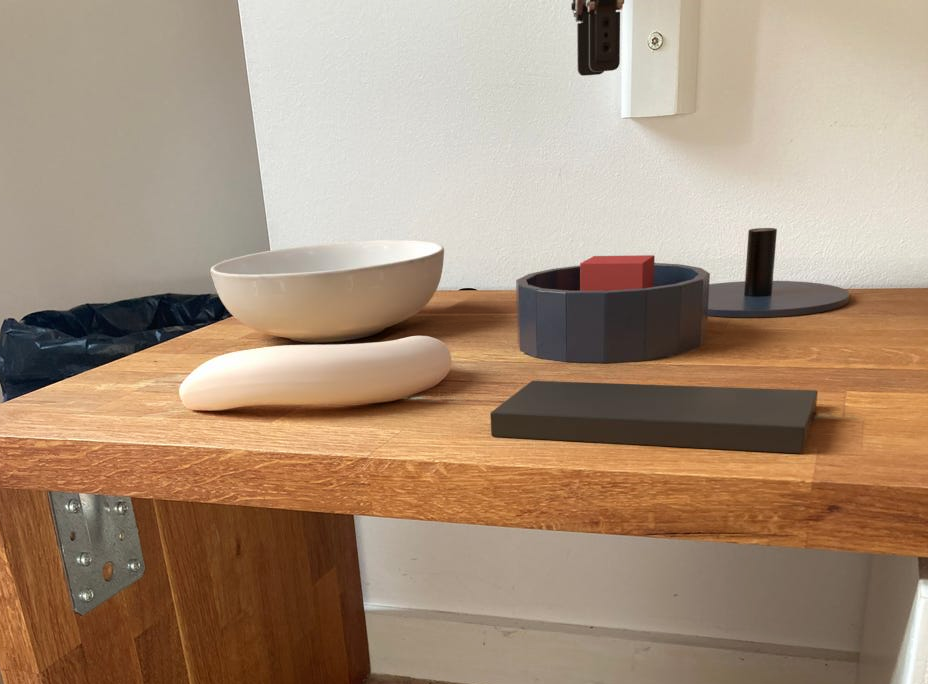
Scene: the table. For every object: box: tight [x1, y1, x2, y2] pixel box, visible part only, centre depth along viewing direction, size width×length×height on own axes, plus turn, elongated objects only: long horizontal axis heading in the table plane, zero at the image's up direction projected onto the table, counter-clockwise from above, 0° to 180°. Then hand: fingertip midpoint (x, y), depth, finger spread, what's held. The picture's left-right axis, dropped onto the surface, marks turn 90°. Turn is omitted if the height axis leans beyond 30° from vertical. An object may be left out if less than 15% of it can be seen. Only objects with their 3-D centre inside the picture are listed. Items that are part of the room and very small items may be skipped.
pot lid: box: [708, 227, 851, 319], centre depth 92 cm, size 16×16×7 cm
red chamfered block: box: [579, 254, 656, 291], centre depth 82 cm, size 5×4×6 cm
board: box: [490, 380, 819, 455], centre depth 62 cm, size 18×8×2 cm, turn 68°
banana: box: [178, 335, 453, 411], centre depth 73 cm, size 5×19×15 cm
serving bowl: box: [209, 239, 445, 344], centre depth 93 cm, size 21×21×7 cm
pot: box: [515, 262, 711, 365], centre depth 81 cm, size 15×15×6 cm
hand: (597, 73), depth 80 cm, fingers open, 8 cm apart
